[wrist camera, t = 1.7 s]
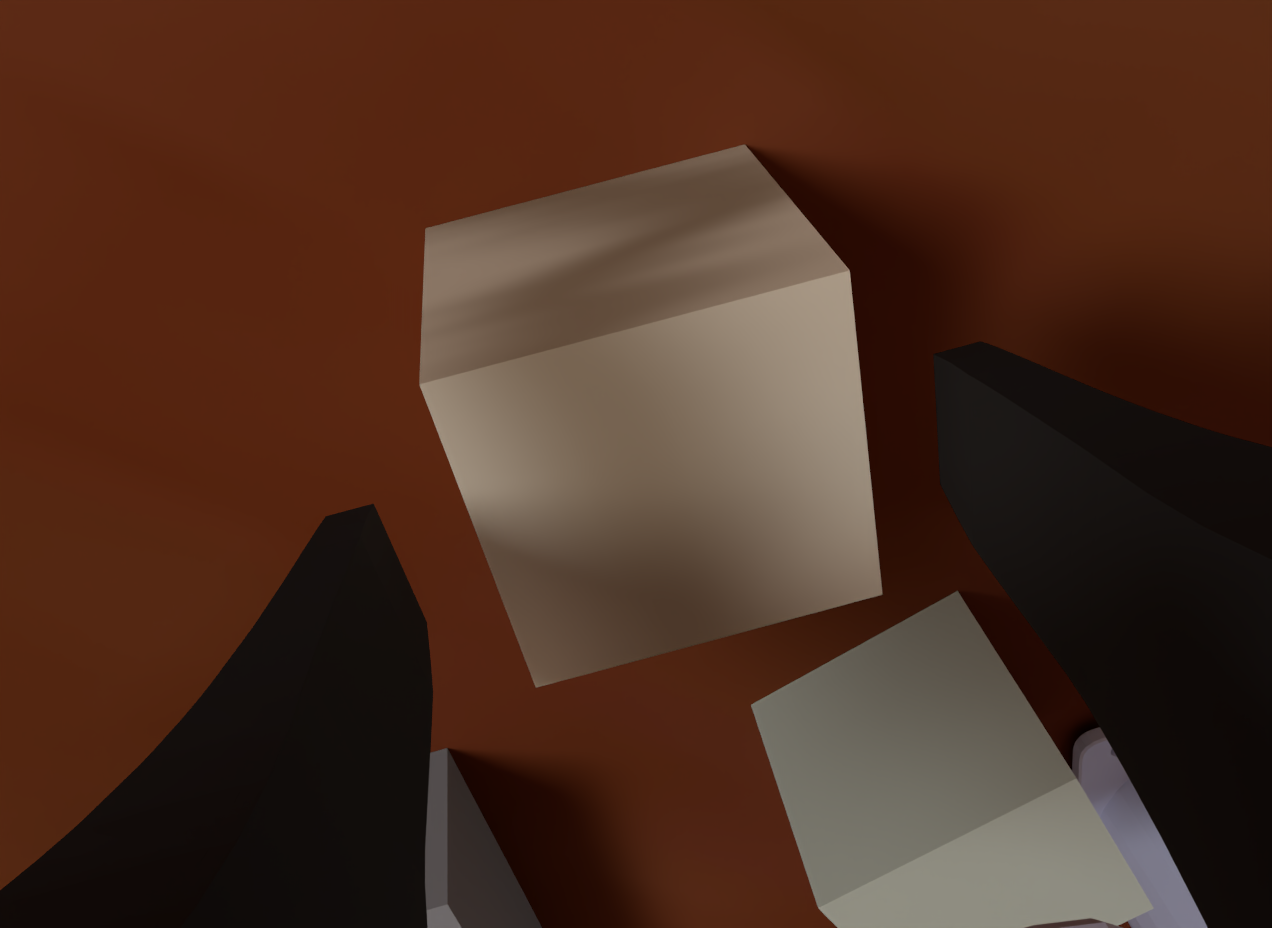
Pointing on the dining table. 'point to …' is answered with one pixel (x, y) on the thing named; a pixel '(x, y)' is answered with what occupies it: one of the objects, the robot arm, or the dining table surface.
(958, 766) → the sage block
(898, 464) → the dining table surface
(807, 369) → the maple cube
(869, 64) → the dining table surface
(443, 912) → the base block
